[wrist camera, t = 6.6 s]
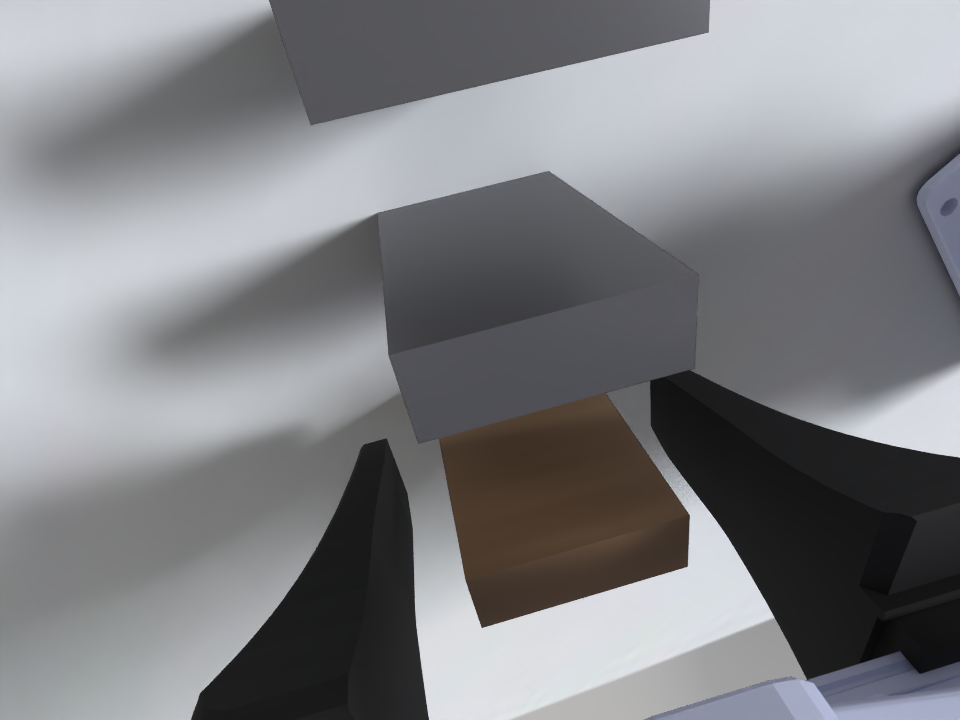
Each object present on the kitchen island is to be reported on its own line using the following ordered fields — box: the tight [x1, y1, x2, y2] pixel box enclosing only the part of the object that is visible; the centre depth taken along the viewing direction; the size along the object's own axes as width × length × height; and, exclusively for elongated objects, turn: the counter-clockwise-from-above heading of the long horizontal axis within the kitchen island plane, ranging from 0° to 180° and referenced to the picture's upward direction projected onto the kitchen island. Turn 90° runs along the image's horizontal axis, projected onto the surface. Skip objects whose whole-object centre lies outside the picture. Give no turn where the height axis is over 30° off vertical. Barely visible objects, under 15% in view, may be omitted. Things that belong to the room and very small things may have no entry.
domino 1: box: [269, 0, 710, 125], centre depth 8 cm, size 2×4×7 cm, turn 101°
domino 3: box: [439, 393, 690, 628], centre depth 13 cm, size 2×4×7 cm, turn 101°
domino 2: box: [377, 171, 699, 444], centre depth 11 cm, size 2×4×7 cm, turn 101°
